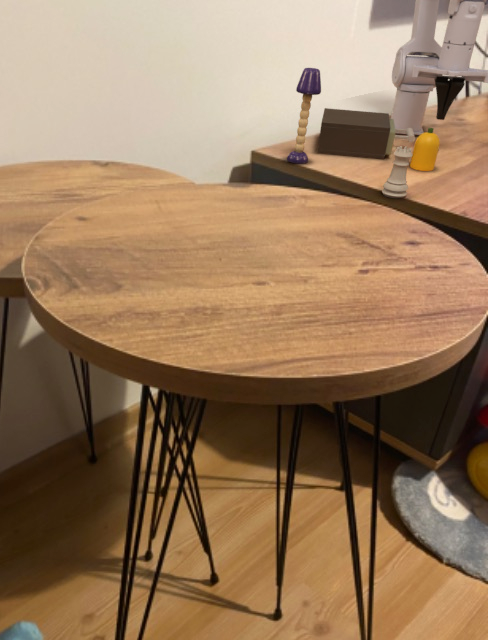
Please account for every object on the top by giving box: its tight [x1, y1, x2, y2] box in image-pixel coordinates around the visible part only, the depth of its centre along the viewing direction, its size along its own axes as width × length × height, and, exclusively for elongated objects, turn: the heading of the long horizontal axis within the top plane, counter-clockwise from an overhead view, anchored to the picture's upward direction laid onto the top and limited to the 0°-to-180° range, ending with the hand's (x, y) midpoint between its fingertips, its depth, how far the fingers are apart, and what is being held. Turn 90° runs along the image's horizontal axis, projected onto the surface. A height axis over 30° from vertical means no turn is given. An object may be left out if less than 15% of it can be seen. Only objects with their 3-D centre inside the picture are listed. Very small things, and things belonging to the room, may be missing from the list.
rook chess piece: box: [381, 145, 413, 199], centre depth 114 cm, size 4×4×8 cm
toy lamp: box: [286, 67, 322, 165], centre depth 126 cm, size 5×5×17 cm
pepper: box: [409, 127, 441, 172], centre depth 128 cm, size 5×5×7 cm
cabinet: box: [316, 107, 391, 160], centre depth 138 cm, size 14×13×6 cm
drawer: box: [385, 118, 416, 156], centre depth 137 cm, size 17×11×4 cm
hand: (440, 118), depth 132 cm, fingers closed
